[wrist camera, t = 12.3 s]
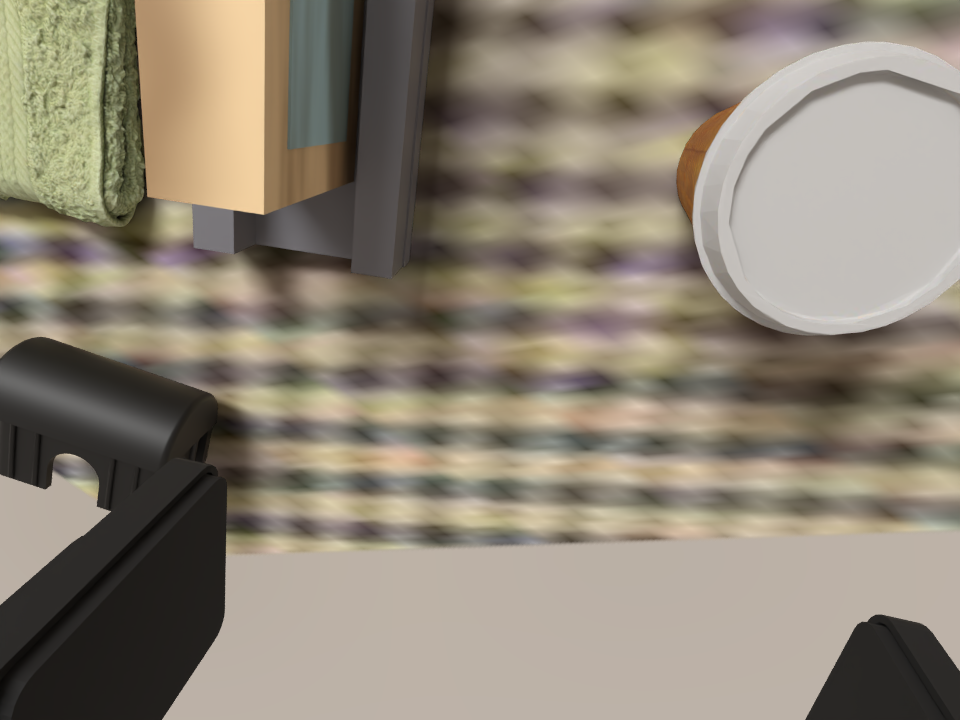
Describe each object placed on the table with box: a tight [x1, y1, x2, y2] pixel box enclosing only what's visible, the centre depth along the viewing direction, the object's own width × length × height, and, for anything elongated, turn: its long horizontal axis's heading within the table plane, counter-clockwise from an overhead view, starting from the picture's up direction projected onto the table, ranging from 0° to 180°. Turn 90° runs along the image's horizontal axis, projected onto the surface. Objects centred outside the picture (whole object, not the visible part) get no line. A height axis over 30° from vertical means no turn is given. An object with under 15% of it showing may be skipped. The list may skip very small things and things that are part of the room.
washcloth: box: [0, 0, 145, 227], centre depth 30 cm, size 13×18×3 cm
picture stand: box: [192, 0, 434, 279], centre depth 28 cm, size 10×22×4 cm, turn 172°
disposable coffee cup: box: [676, 42, 960, 336], centre depth 25 cm, size 10×10×12 cm
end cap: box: [0, 337, 218, 511], centre depth 35 cm, size 10×7×7 cm
